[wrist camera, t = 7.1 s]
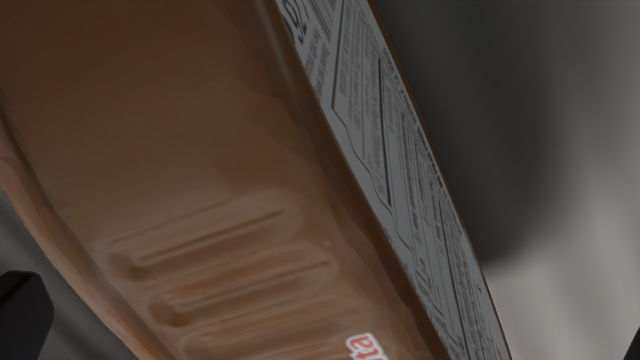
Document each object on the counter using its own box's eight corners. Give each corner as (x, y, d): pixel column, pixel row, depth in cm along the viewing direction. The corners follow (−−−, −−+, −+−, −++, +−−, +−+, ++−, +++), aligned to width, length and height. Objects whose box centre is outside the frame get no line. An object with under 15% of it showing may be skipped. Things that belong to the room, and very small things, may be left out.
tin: (135, -198, 10) (-501, -164, 3) (292, -301, 9) (-136, -641, 2) (420, 336, 17) (431, 704, 10) (524, 316, 16) (614, 713, 9)
